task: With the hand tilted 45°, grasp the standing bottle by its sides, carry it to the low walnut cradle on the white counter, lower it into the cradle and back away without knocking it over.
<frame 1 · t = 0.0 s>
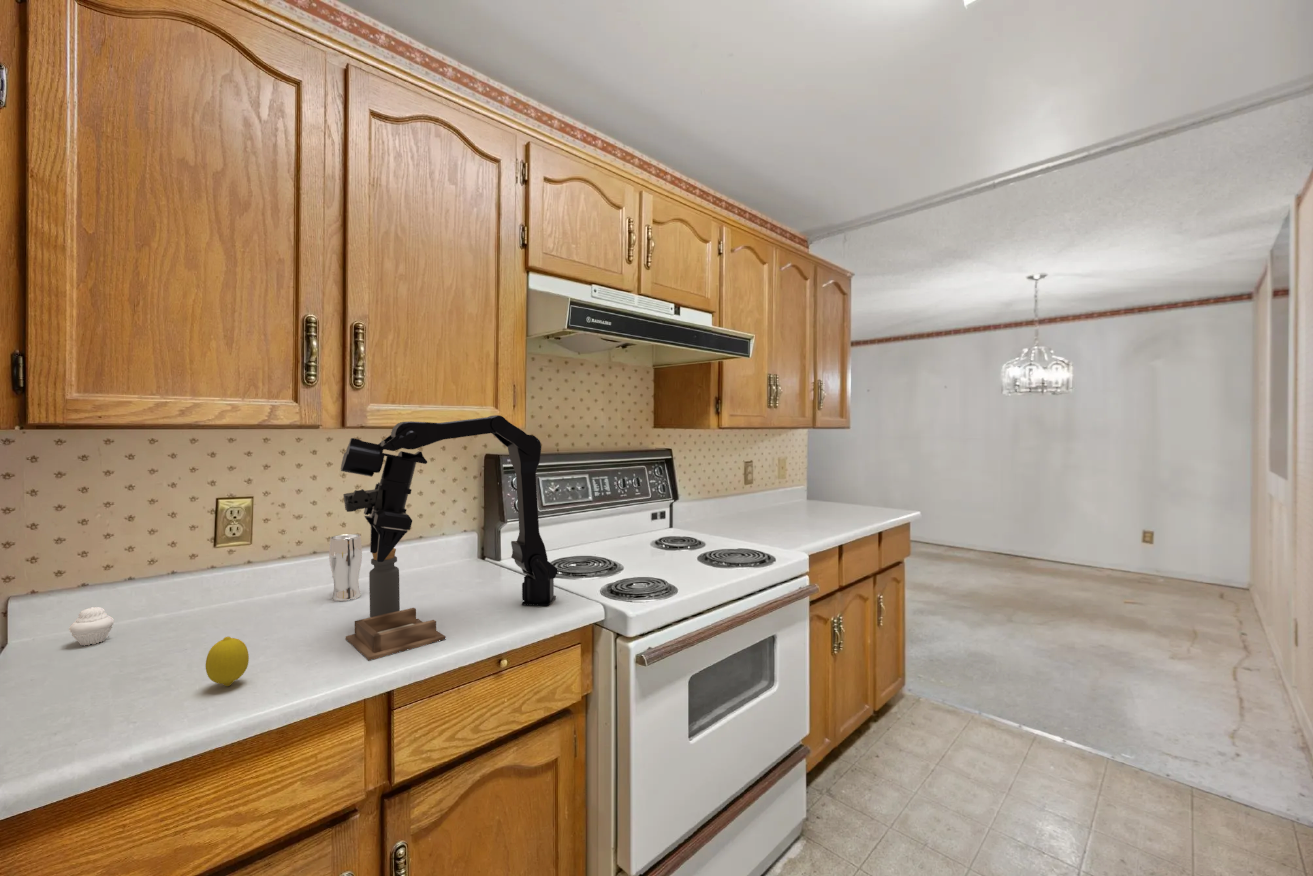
hand: (376, 557, 112), 15 cm above the worktop, tool pointing down, fingers open, 9 cm apart
muffin: (92, 643, 108), on the worktop
beer glass: (346, 598, 136), on the worktop
bottle: (385, 619, 121), on the worktop
cradle: (395, 639, 109), on the worktop
lemon: (228, 687, 90), on the worktop
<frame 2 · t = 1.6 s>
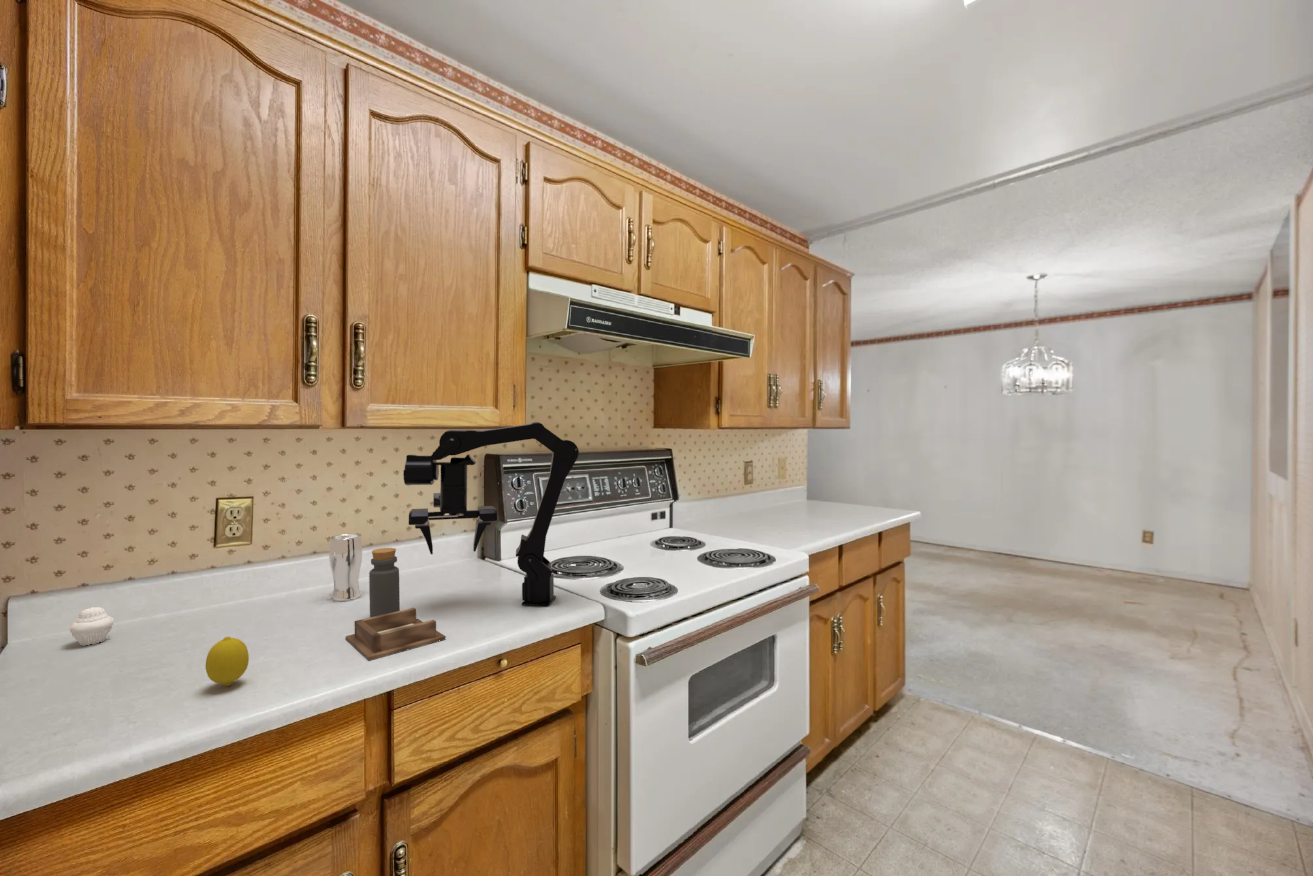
hand: (453, 552, 127), 13 cm above the worktop, tool pointing down, fingers open, 9 cm apart
nothing on the worktop moved.
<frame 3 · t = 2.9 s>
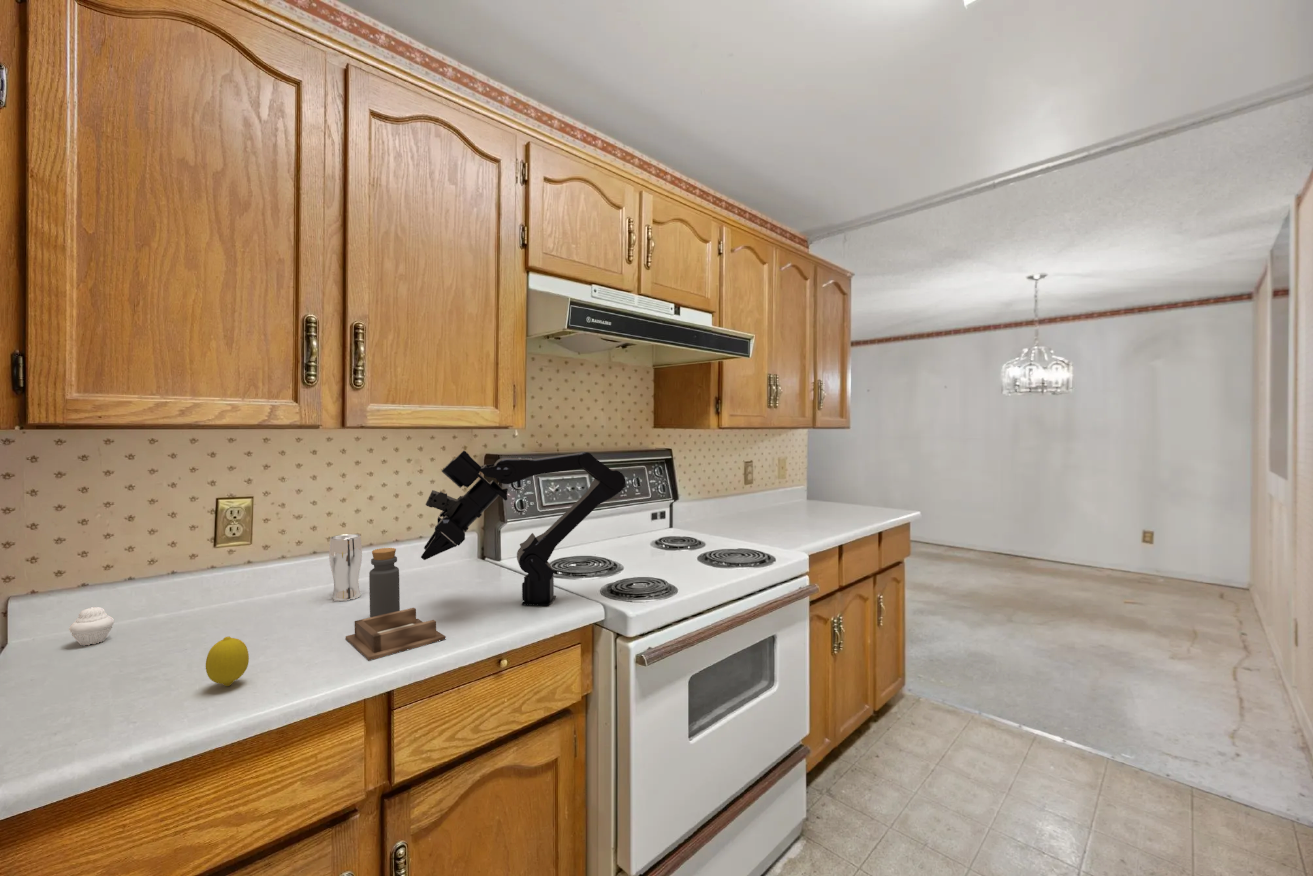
hand: (424, 554, 123), 13 cm above the worktop, tool tilted 45°, fingers open, 9 cm apart
nothing on the worktop moved.
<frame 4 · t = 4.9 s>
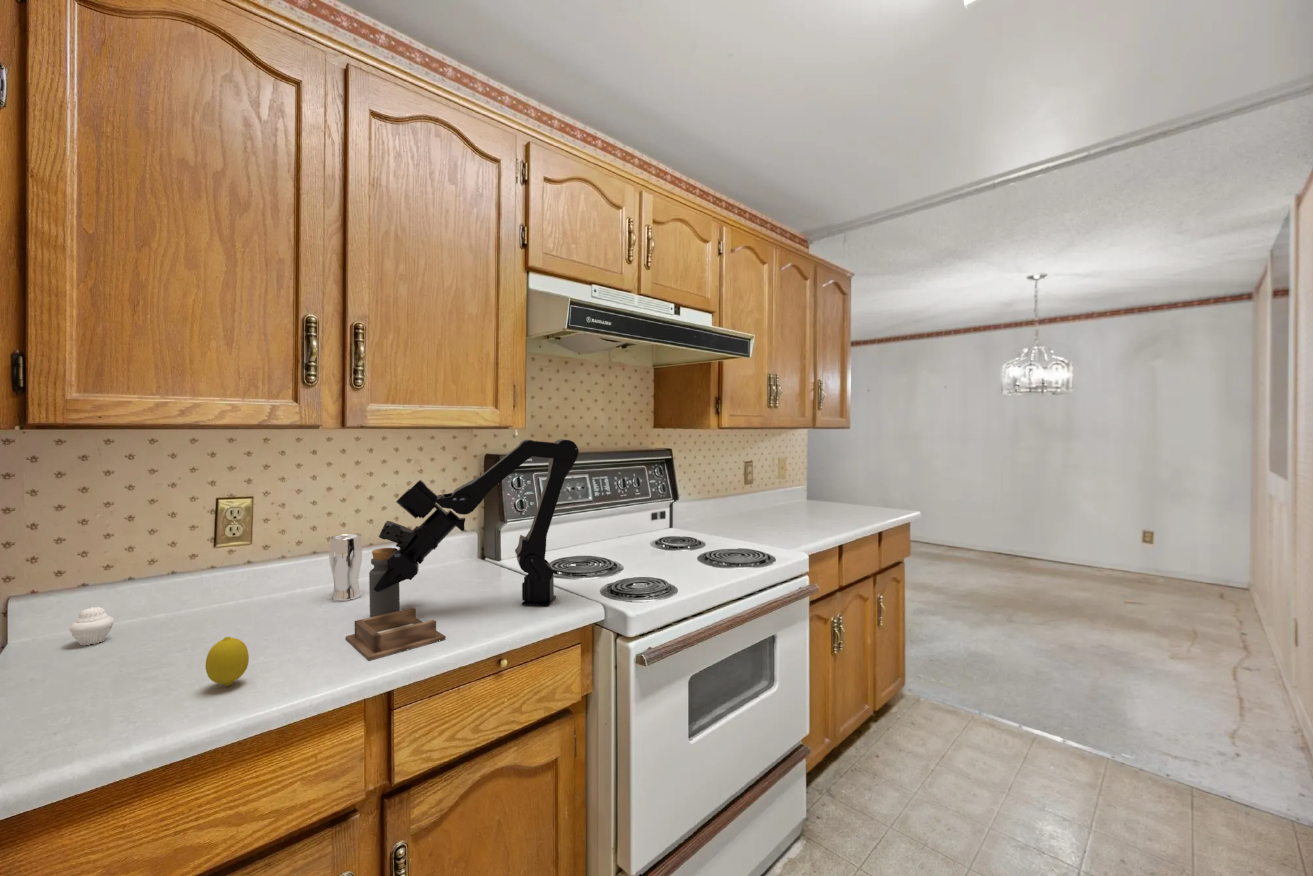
hand: (377, 586, 120), 7 cm above the worktop, tool tilted 45°, fingers closed on bottle, 6 cm apart
bottle: (385, 619, 121), on the worktop, touching gripper
everything else where it was.
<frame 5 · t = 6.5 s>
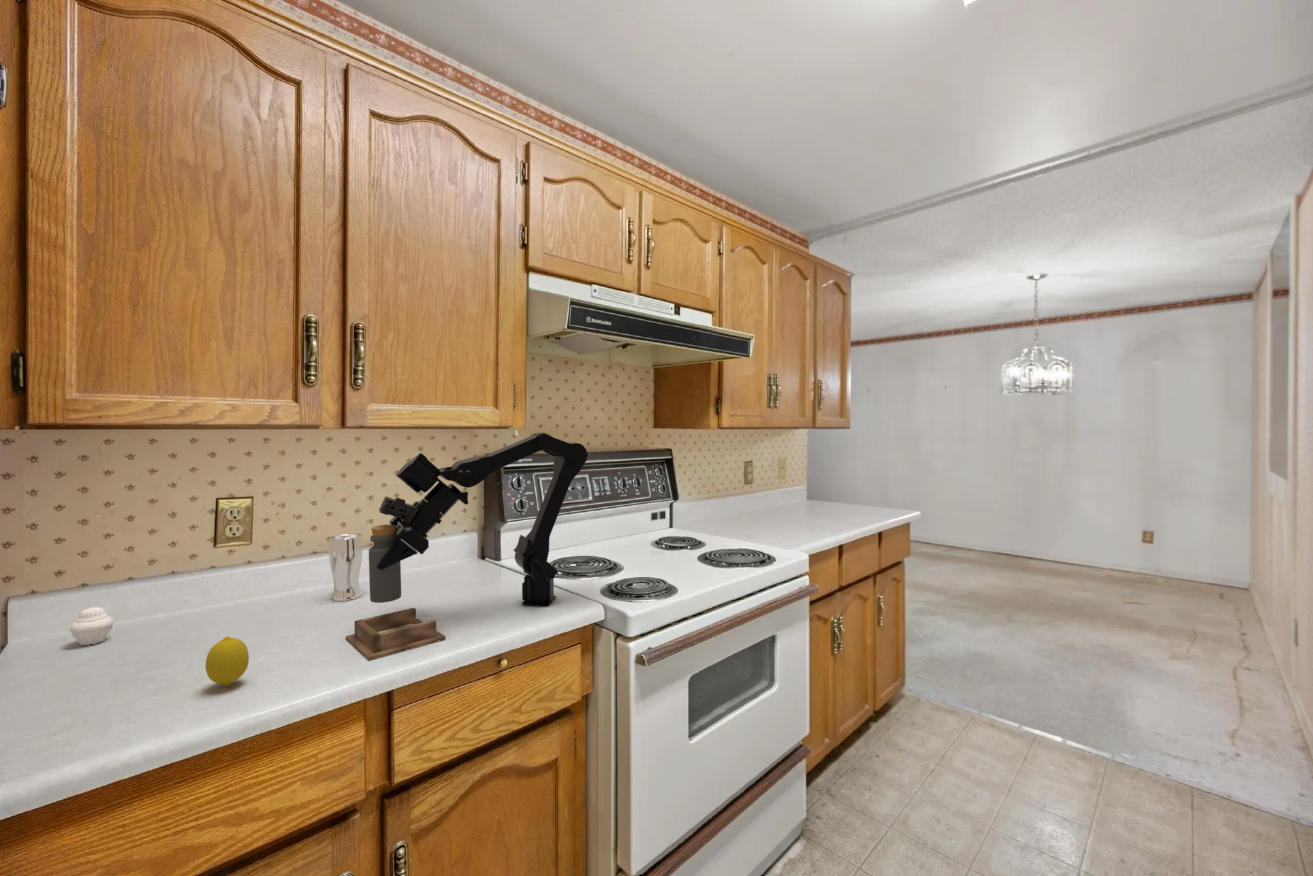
hand: (377, 565, 114), 13 cm above the worktop, tool tilted 45°, fingers closed on bottle, 6 cm apart
bottle: (385, 599, 115), point 6 cm above the worktop, touching gripper
everything else where it was.
when the fingers open (9 cm above the worktop, at t = 8.5 s): bottle drops 1 cm, resting on cradle.
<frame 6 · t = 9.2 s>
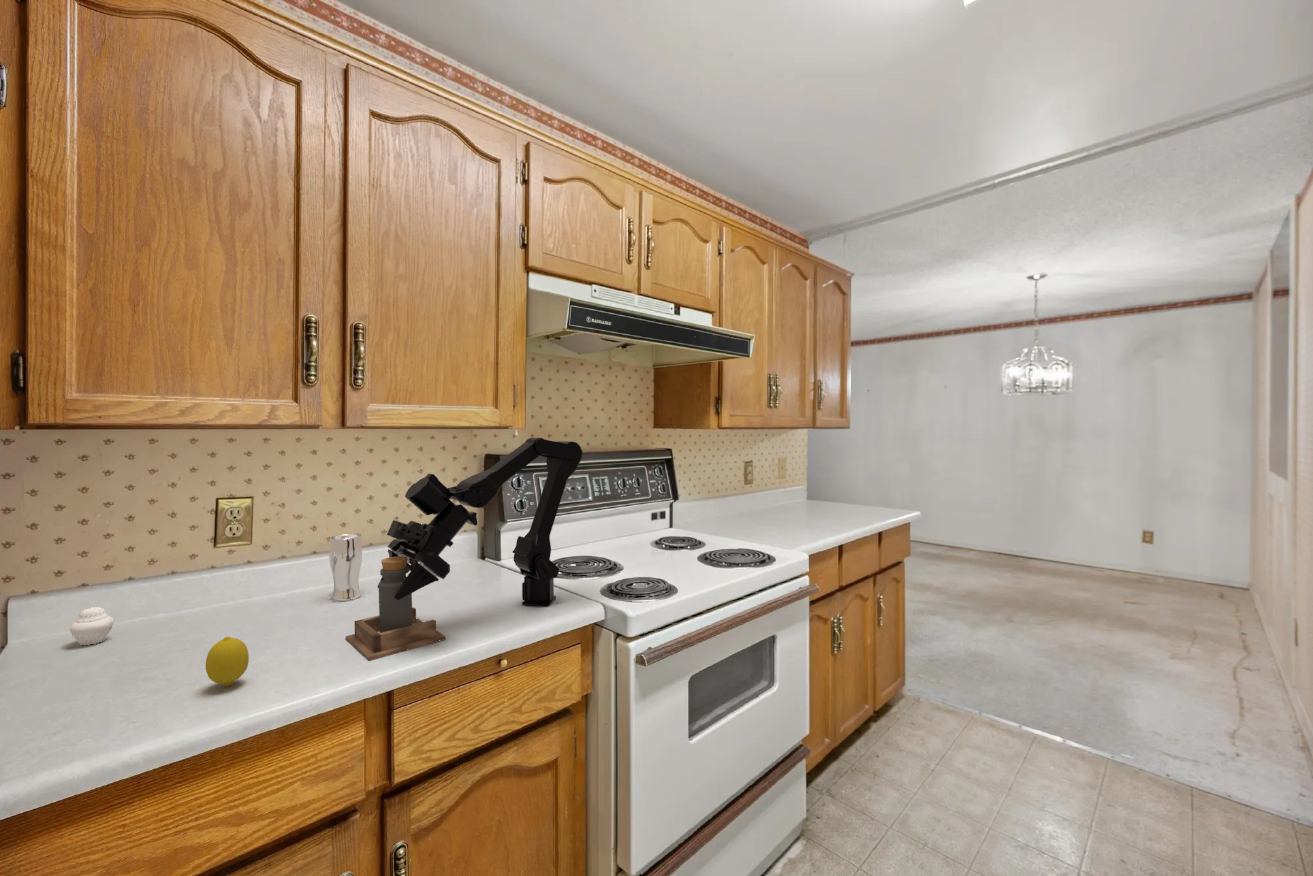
hand: (387, 593, 108), 9 cm above the worktop, tool tilted 45°, fingers open, 9 cm apart
bottle: (396, 635, 109), point 1 cm above the worktop, touching cradle
everything else where it was.
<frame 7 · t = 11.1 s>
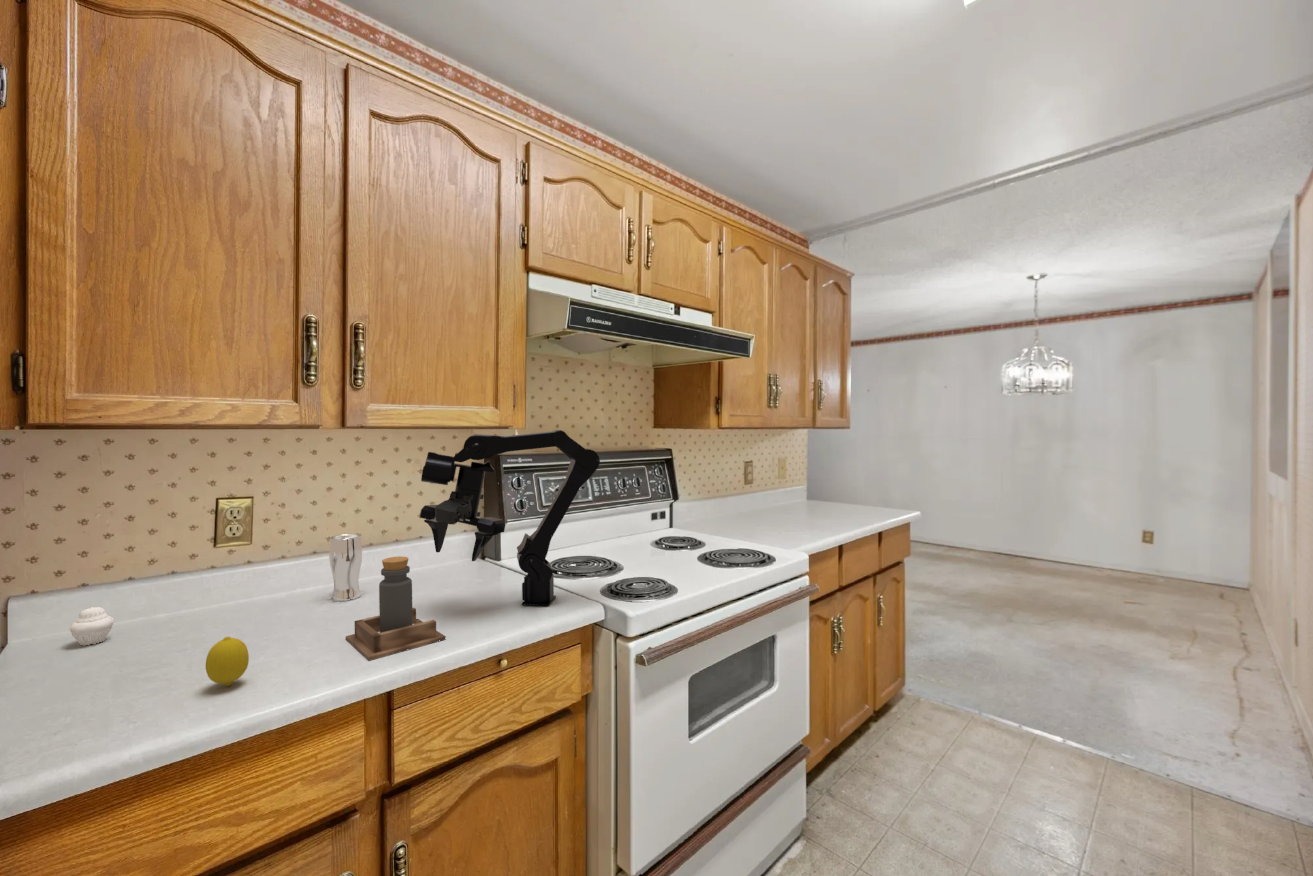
hand: (455, 556, 126), 12 cm above the worktop, tool pointing down, fingers open, 9 cm apart
nothing on the worktop moved.
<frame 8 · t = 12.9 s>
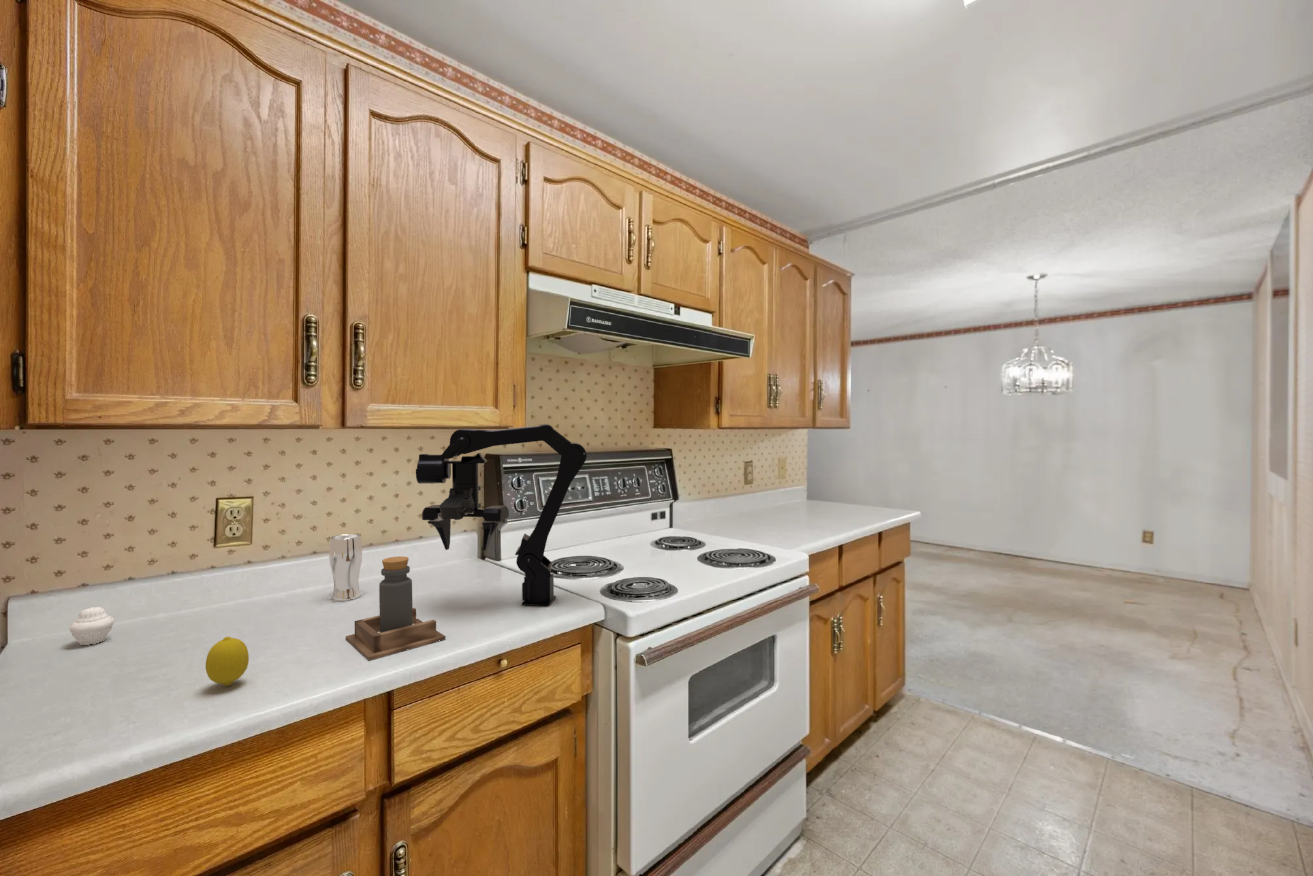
hand: (466, 549, 129), 13 cm above the worktop, tool pointing down, fingers open, 9 cm apart
nothing on the worktop moved.
at the end: bottle 0.2 cm from the cradle (horizontally); bottle tilted 0°; the gripper is holding nothing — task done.
